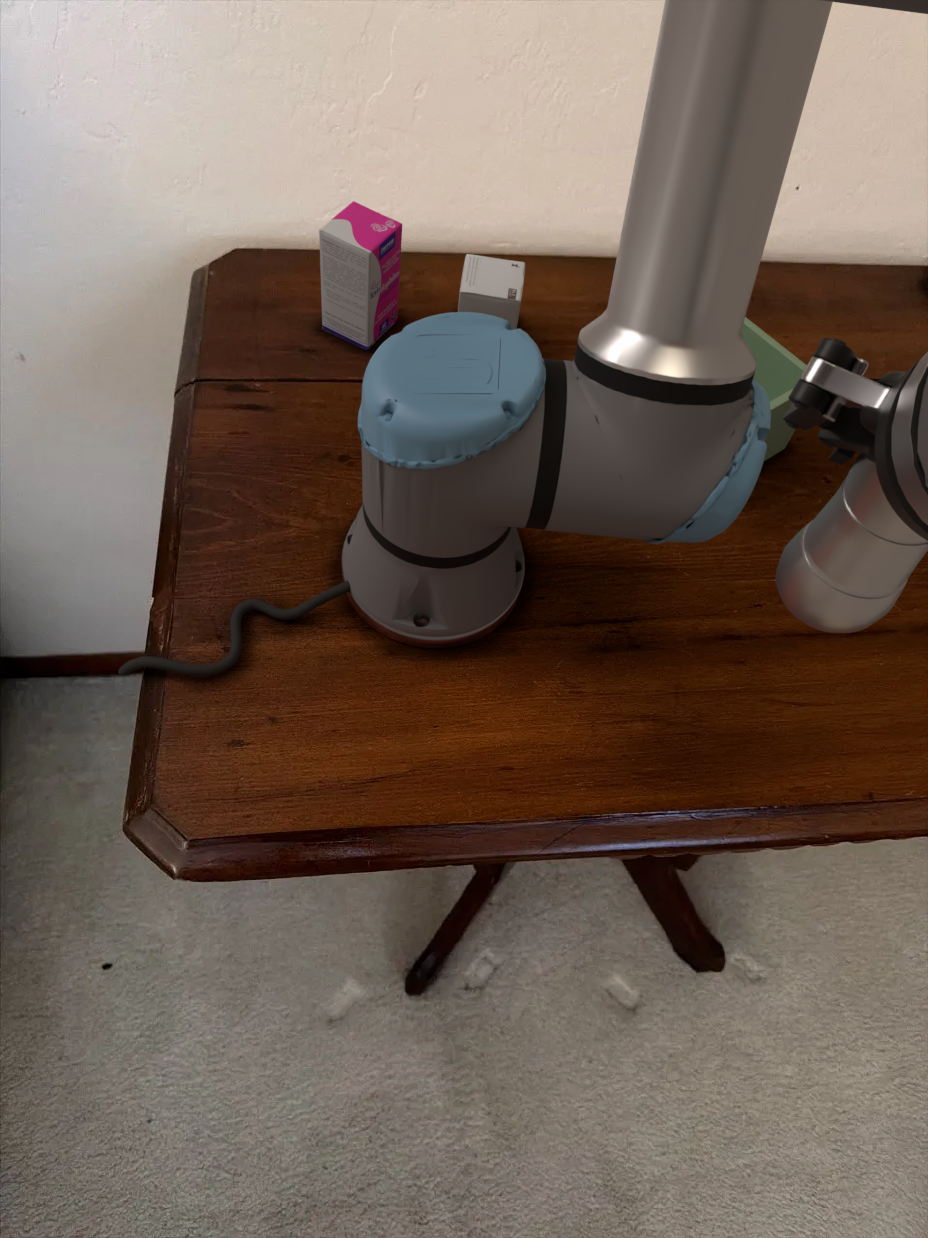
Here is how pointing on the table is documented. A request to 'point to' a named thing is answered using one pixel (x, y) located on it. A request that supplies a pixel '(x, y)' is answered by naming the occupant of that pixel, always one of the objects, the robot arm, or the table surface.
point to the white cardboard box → (492, 287)
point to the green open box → (774, 381)
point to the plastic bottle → (849, 558)
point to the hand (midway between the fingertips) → (909, 468)
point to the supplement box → (360, 274)
